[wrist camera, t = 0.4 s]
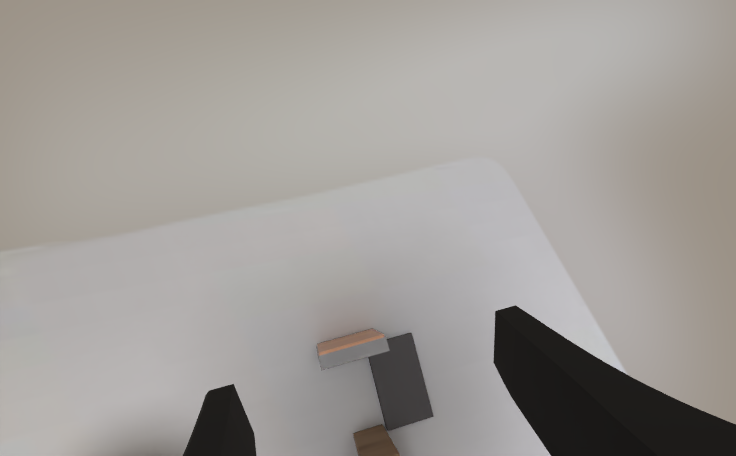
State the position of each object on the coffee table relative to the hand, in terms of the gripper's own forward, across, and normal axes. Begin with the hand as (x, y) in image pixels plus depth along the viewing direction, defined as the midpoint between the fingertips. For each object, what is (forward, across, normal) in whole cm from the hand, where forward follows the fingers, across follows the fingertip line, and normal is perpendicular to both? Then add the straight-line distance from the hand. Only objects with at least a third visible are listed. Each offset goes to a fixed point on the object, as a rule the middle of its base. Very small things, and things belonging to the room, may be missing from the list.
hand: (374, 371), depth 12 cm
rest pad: (+17, -4, +21) cm, 27 cm away
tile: (+19, 0, +18) cm, 26 cm away
